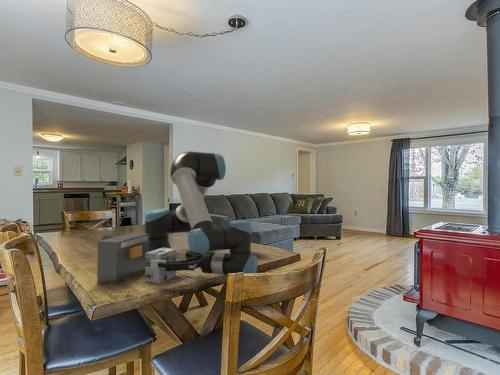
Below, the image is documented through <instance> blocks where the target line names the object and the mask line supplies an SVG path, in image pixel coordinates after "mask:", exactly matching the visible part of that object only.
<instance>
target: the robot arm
mask: <svg viewBox="0 0 500 375" xmlns="http://www.w3.org/2000/svg"><path fill="white" fill-rule="evenodd" d="M226 168H227V167H226V160H225V159H224V156H222V154H220V153H214V152H201V151H184V152H182V153H180V154H178V155H177V156H176V157H175V158H174V160H173V161H172V163H171V166H170V170H169V172H170V178H171V182H172V183H173V184H174V185H175V186H176V188H177V190H178V194H179V196H180V199H181V204H180V205H178V206H177V207H176V209H175V210H169V208H156V209H152V210H149V211H146V212H145V214H144V233H147V234H149V252H150V251H153V250H157V249H160V248H171V249H172V246H171V244H170V241H169V240H170V238H169V235H170V234H181V233H182V234H183V233H184V234H186V233H188V235H187V242H188V244H187V246H188V248H189V251H187V252H186V251H176V261H171V262H169V260H154V259H152V260H151V268H162V269H165V271H176V272H179V271H191V272H192V271H193V272H194V271H195V270H197V269H200V270H201V272H202V273H203V274H214V275H220V276H221V277H223V276H224V275H225V276H229V275H228V273H237V272H243V273H257V272H258V256H257V255H254V254H252V250H251V249H252V248H251V247H252V246H251V244H252V224H251V222H250V221H249V220H245V219H244V220H243V219H238V220H237V219H236V220H235V219H234V220H230V221H229V226H225V227H216V226H215V225H214V223H213V220H212V218H211V215H210V213H209V209H208V208H207V206H206V202H205V200H204V199H205V197H206V194H207V192H208V190H209V189H210V188H212V187H213V186H214V185H215V184H216V182H217V181H222V180H223V179H224V178H225V177H226V172H227V169H226ZM224 250H229V253H227V252H218V251H224ZM216 251H217V252H216ZM202 252H203V253H204V254H202Z"/></svg>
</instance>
